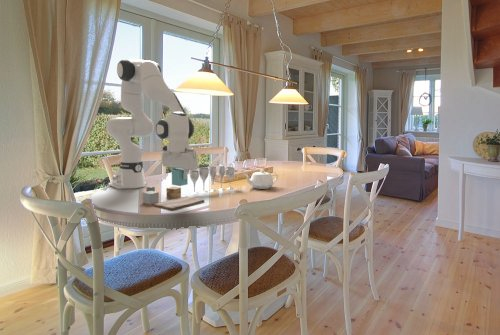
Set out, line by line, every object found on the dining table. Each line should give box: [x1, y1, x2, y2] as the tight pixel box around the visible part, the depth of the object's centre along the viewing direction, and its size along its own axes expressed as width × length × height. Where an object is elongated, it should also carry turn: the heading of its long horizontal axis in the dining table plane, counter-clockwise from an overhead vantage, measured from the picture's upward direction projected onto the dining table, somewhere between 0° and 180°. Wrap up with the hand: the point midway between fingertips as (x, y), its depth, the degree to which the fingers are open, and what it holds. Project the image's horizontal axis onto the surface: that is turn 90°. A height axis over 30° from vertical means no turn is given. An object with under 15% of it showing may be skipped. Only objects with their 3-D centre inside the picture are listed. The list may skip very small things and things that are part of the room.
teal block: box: [171, 168, 189, 187], centre depth 159 cm, size 5×5×7 cm
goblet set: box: [189, 165, 236, 195], centre depth 191 cm, size 28×6×13 cm, turn 127°
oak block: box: [165, 186, 182, 200], centre depth 173 cm, size 5×5×5 cm
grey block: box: [142, 190, 160, 205], centre depth 162 cm, size 5×5×5 cm
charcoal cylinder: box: [145, 186, 156, 192], centre depth 173 cm, size 4×4×5 cm
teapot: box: [243, 168, 279, 190], centre depth 201 cm, size 22×14×11 cm, turn 112°
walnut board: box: [153, 195, 205, 211], centre depth 161 cm, size 12×20×1 cm, turn 144°
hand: (179, 177), depth 159 cm, fingers closed on teal block, 5 cm apart
